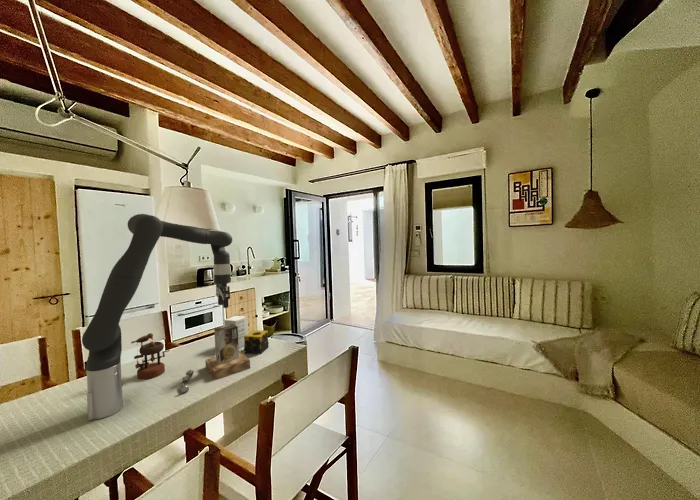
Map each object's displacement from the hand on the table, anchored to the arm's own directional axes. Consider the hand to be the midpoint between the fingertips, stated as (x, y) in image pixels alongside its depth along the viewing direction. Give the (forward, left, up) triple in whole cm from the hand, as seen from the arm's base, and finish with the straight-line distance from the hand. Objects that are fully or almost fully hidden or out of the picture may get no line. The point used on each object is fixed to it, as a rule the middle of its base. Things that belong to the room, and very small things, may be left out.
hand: (223, 306), depth 130 cm
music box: (-27, +18, -31) cm, 45 cm away
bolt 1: (-16, 0, -31) cm, 35 cm away
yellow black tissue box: (+20, +10, -31) cm, 38 cm away
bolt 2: (-19, -9, -31) cm, 37 cm away
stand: (+1, -1, -31) cm, 31 cm away
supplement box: (+14, +25, -31) cm, 42 cm away
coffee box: (+1, -1, -26) cm, 26 cm away
